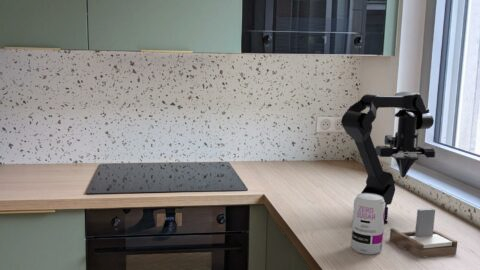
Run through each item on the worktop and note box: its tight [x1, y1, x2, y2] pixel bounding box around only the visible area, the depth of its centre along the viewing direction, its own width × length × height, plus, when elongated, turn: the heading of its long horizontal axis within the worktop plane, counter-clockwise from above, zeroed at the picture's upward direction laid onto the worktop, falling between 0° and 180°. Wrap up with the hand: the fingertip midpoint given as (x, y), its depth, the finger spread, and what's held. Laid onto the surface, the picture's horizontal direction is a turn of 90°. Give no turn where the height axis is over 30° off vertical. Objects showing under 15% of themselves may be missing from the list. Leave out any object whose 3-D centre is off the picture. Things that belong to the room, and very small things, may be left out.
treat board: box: [389, 227, 458, 259], centre depth 149 cm, size 14×12×4 cm
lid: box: [409, 207, 452, 248], centre depth 145 cm, size 6×9×9 cm
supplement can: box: [350, 193, 385, 256], centre depth 144 cm, size 8×8×15 cm
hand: (402, 177), depth 176 cm, fingers closed
